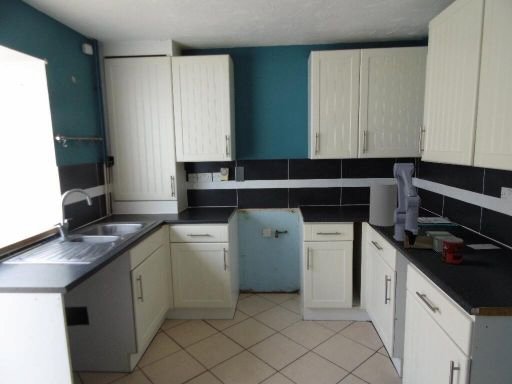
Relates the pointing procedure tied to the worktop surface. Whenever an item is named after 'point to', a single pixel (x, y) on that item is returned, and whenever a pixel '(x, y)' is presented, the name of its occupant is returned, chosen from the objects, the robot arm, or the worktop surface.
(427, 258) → the worktop surface
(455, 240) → the canned food
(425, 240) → the brown-tipped cream rod
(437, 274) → the worktop surface
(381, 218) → the cylinder
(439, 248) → the grey block
